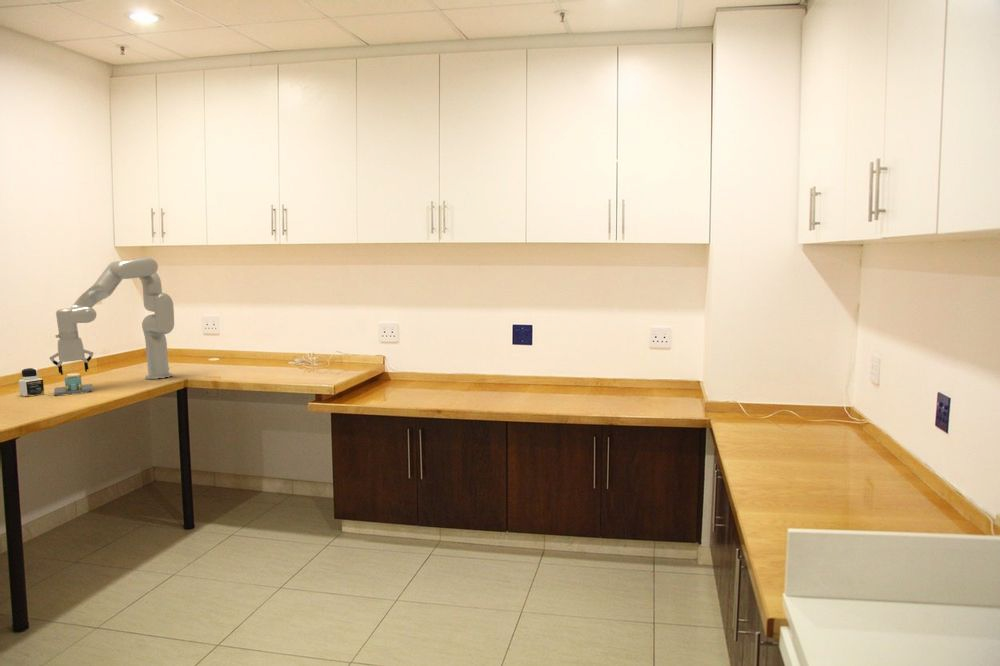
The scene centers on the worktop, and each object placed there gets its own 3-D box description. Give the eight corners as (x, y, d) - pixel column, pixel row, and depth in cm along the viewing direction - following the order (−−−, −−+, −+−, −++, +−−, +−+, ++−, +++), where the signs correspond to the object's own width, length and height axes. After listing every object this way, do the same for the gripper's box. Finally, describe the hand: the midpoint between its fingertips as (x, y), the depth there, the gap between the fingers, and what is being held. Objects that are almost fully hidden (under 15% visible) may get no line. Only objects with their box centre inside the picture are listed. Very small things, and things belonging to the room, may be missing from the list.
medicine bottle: (27, 397, 322) (24, 370, 321) (19, 395, 326) (16, 369, 325) (44, 394, 328) (42, 367, 327) (36, 392, 332) (33, 366, 331)
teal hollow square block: (65, 388, 334) (64, 377, 333) (81, 386, 337) (80, 375, 336) (65, 391, 326) (64, 380, 325) (82, 389, 329) (81, 378, 328)
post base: (54, 391, 335) (53, 378, 335) (92, 387, 343) (90, 374, 342) (54, 396, 322) (53, 382, 322) (93, 391, 330) (92, 378, 329)
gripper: (46, 339, 322) (52, 377, 325) (90, 334, 331) (96, 371, 334) (46, 337, 329) (52, 374, 331) (90, 332, 337) (95, 369, 340)
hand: (74, 372), depth 332 cm, fingers open, 9 cm apart
